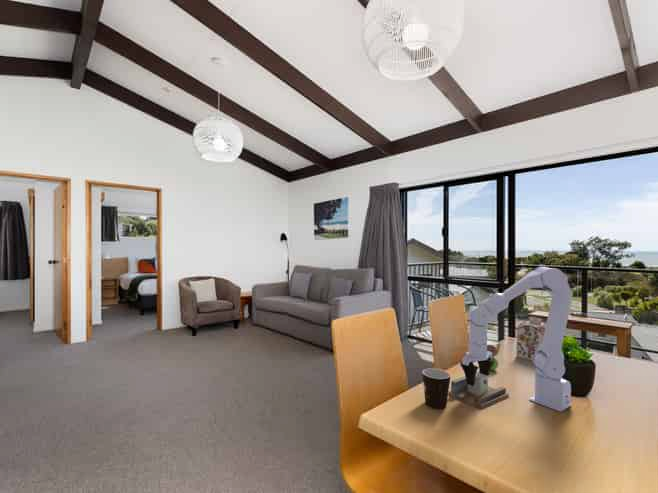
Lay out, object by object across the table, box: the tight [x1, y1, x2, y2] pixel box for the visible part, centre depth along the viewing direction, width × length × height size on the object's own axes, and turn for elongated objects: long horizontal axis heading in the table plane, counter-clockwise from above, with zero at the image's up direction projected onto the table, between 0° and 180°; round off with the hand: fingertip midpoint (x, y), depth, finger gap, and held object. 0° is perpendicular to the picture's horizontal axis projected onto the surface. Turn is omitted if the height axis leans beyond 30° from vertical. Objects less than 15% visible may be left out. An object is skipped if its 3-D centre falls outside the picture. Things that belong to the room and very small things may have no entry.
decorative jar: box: [515, 317, 547, 362], centre depth 156 cm, size 12×12×18 cm
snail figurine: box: [487, 340, 502, 371], centre depth 140 cm, size 5×6×12 cm
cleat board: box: [448, 371, 510, 410], centre depth 116 cm, size 12×16×5 cm
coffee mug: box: [421, 367, 452, 410], centre depth 107 cm, size 12×9×10 cm
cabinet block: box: [467, 371, 489, 396], centre depth 116 cm, size 6×4×6 cm
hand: (477, 382), depth 116 cm, fingers open, 7 cm apart
